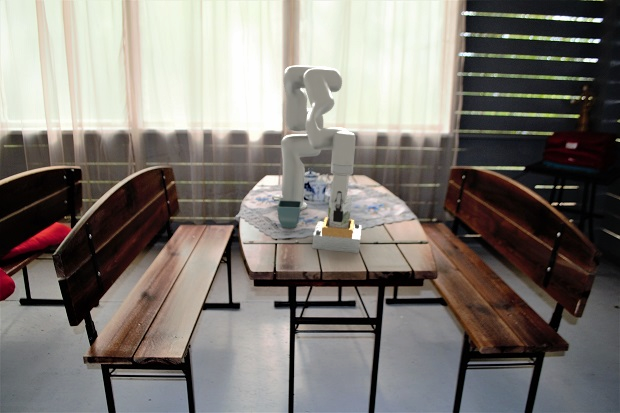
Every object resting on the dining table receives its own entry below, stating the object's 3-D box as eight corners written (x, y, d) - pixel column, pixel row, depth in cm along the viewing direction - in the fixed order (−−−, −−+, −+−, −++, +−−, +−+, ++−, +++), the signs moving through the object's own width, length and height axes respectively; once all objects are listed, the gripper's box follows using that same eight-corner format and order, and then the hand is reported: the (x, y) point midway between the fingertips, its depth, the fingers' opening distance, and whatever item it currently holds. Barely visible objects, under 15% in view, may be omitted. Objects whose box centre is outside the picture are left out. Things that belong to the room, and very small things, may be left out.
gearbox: (312, 248, 155) (313, 228, 152) (317, 233, 168) (318, 214, 166) (358, 253, 153) (360, 232, 151) (360, 238, 166) (362, 218, 164)
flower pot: (278, 221, 179) (279, 199, 177) (300, 222, 179) (301, 200, 176) (276, 229, 171) (277, 206, 168) (299, 230, 171) (300, 207, 168)
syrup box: (334, 231, 164) (337, 193, 159) (348, 235, 160) (351, 196, 156) (326, 235, 159) (328, 196, 155) (340, 240, 156) (343, 200, 151)
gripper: (333, 162, 161) (330, 209, 166) (328, 173, 144) (325, 225, 150) (354, 163, 160) (350, 210, 165) (351, 175, 143) (347, 227, 149)
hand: (338, 217), depth 158 cm, fingers closed on syrup box, 7 cm apart
